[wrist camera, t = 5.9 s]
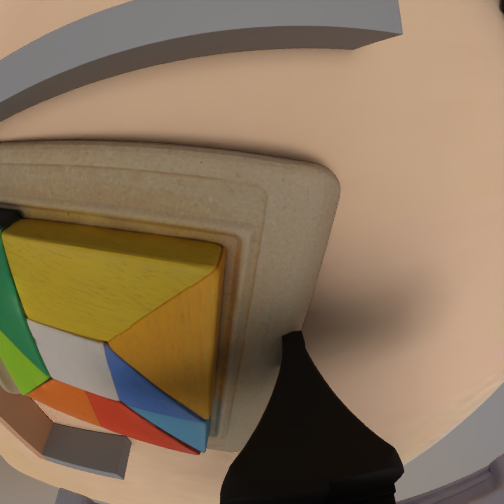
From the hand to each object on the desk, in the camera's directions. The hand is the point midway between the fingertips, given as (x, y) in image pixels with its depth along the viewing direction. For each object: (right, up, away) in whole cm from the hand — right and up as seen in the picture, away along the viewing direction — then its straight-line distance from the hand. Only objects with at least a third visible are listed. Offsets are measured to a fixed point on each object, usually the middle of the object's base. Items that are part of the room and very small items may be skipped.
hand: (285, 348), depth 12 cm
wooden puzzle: (-9, +1, +1) cm, 9 cm away
